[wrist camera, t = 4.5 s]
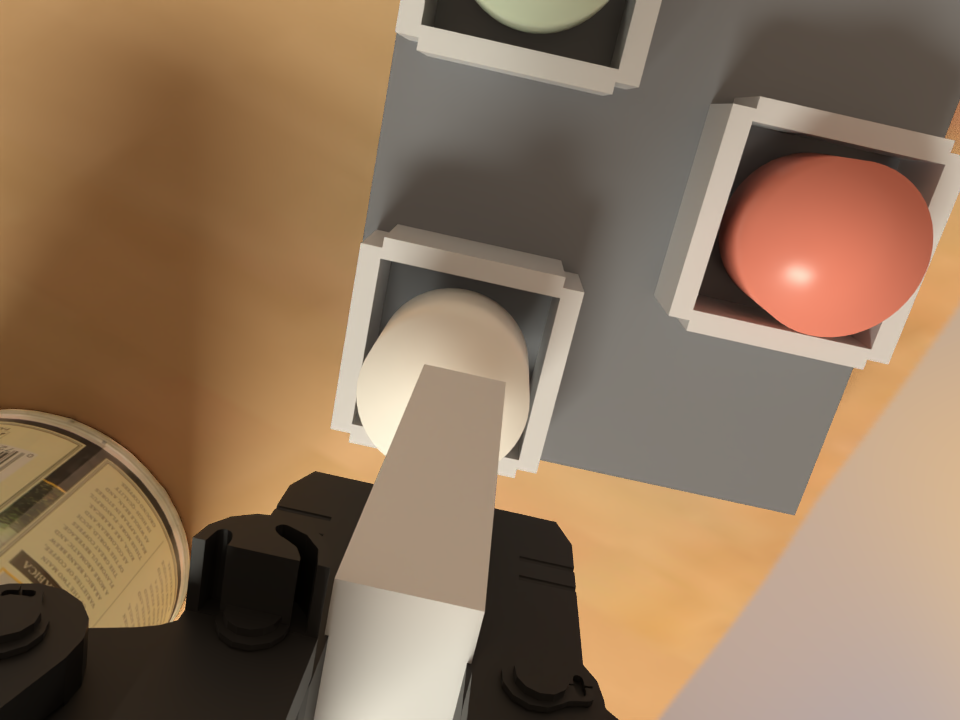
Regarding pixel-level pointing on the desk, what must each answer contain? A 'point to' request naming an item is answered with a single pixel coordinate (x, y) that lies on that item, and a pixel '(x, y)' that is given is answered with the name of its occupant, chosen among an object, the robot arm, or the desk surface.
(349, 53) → the desk surface
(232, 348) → the desk surface
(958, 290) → the desk surface
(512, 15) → the sage button
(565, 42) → the control panel
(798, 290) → the red button
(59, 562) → the coffee can
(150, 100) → the desk surface
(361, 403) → the white button
